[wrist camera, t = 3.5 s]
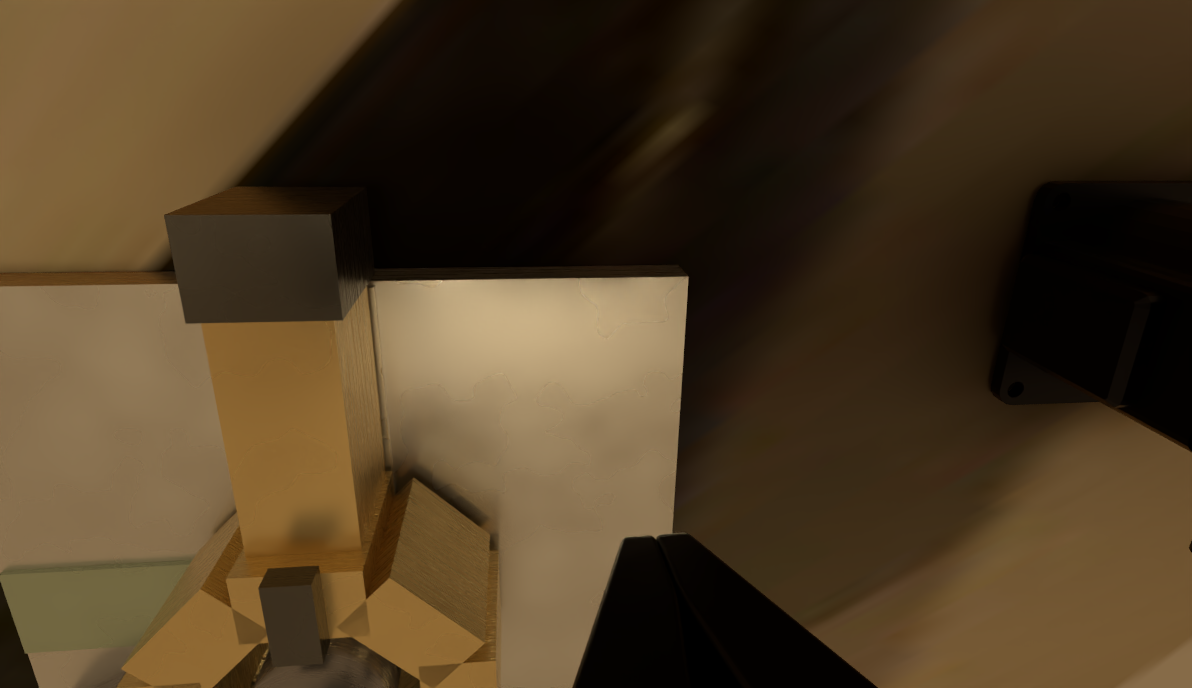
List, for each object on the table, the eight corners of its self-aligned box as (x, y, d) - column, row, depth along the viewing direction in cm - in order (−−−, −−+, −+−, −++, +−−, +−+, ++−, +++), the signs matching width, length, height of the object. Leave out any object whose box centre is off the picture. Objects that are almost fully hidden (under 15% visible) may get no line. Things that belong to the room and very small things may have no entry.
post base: (677, 265, 19) (748, 343, 13) (649, 755, 25) (688, 946, 20) (-58, 274, 17) (-336, 370, 11) (111, 804, 23) (-14, 1032, 18)
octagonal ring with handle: (484, 186, 16) (474, 226, 12) (504, 696, 21) (502, 850, 17) (109, 186, 15) (-49, 229, 11) (227, 718, 21) (153, 886, 16)
